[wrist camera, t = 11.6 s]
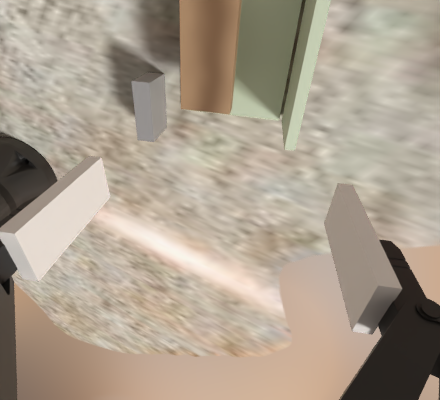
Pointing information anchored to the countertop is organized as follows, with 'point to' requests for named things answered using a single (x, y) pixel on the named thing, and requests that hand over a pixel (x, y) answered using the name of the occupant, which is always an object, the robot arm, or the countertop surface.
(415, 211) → the countertop surface
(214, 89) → the shelf board
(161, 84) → the block
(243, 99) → the cabinet
